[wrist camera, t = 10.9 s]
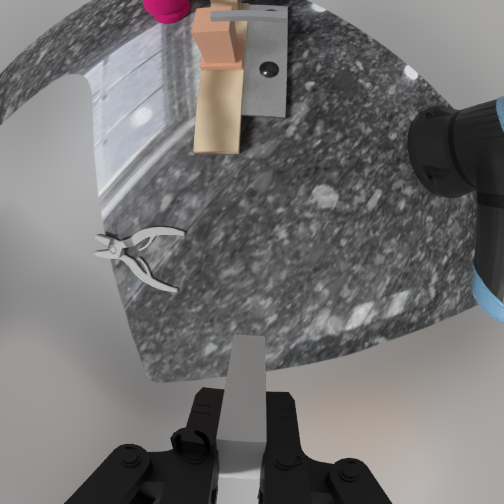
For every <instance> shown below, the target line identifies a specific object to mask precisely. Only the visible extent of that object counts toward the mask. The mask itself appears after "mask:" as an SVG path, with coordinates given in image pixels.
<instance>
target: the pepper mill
mask: <svg viewBox="0 0 504 504" xmlns="http://www.w3.org/2000/svg"><path fill="white" fill-rule="evenodd" d="M143 5H144V7H145V9H146V11H147V12H149V13H150V14H153V15H154V17H155V18H156V20H157V21H158V22H160V23H164V24H169V23H174V22H177V21H179V20H181V19H183V18H184V17H185V16H186V15H187V14H188V13H189V11H190V8H191V6H190V3H189V0H143Z"/></svg>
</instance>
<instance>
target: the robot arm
mask: <svg viewBox="0 0 504 504" xmlns="http://www.w3.org/2000/svg"><path fill="white" fill-rule="evenodd" d="M408 152H409V157H410V161H411V164H412V167H413V169H414V171H415V173H416V175H417V177H418V179H419V180H420V181H421V183H422V184H423V185H424V186H425V187H426V188H427V189H428V190H429V191H430V192H432V193H433V194H435V195H438V196H441V197H448V198H457V197H461V196H463V195H465V194H467V193H470V192H472V191H474V190H476V189H477V233H476V246H475V256H474V259H473V280H472V292H473V295H474V298H475V299H476V302H477V303H478V305H479V306H480V307H481V308H482V309H483V310H484V311H485V312H486V313H487V314H488V315H490V316H491V317H493V318H494V319H496V320H498V321H500V322H502V323H504V97H500V98H498V99H496V100H492V101H489V102H485V103H482V104H479V105H476V106H472V107H469V108H466V109H463V110H456V109H450V108H444V107H433V108H430V109H427V110H425V111H422V112H421V113H419V114H418V115H417V116H416V117H415V118H414V120H413V121H412V123H411V126H410V129H409V133H408ZM170 439H171V443H172V446H173V449H172V450H169V451H163V452H147V451H146V450H145V449H143V448H142V447H141V446H138V445H135V444H124V445H121V446H119V447H117V448H116V449H115V450H113V452H112V453H111V454H110V455H109V456H108V457H107V458H106V459H105V460H104V462H103V463H102V464H101V465H100V466H99V467H98V468H97V469H96V470H95V471H94V472H93V473H92V475H91V476H90V477H89V478H88V479H87V480H86V481H85V482H84V483H83V484H82V485H81V486H80V487H79V488H78V490H77V491H76V492H75V493H74V494H73V495H72V496H71V497H70V498H69V499H68V500H67V501H66V502H65V503H64V504H216V500H217V493H218V477H227V478H240V479H260V488H259V493H258V499H259V501H258V504H392V502H391V501H390V500H389V498H388V497H387V495H386V494H385V492H384V491H383V489H382V488H381V486H380V485H379V483H378V482H377V480H376V479H375V478H374V476H373V474H372V473H371V471H370V470H369V468H368V467H367V466H366V465H365V464H364V463H363V462H362V461H360V460H358V459H353V458H345V459H341V460H339V461H337V462H335V464H330V463H324V462H319V461H315V460H313V459H311V458H309V457H308V456H306V455H305V454H304V452H303V451H302V448H301V444H300V437H299V430H298V422H297V414H296V408H295V400H294V399H293V398H292V396H291V395H290V393H289V392H266V374H265V336H251V335H236V334H234V339H233V345H232V350H231V356H230V362H229V368H228V373H227V379H226V385H225V390H224V389H214V388H205V387H203V388H202V389H201V390H200V391H199V392H198V393H197V394H196V395H195V398H194V402H193V406H192V409H191V413H190V415H189V419H188V422H187V426H186V428H182V429H179V430H178V431H176V432H174V433H173V435H172V437H171V438H170Z"/></svg>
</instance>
